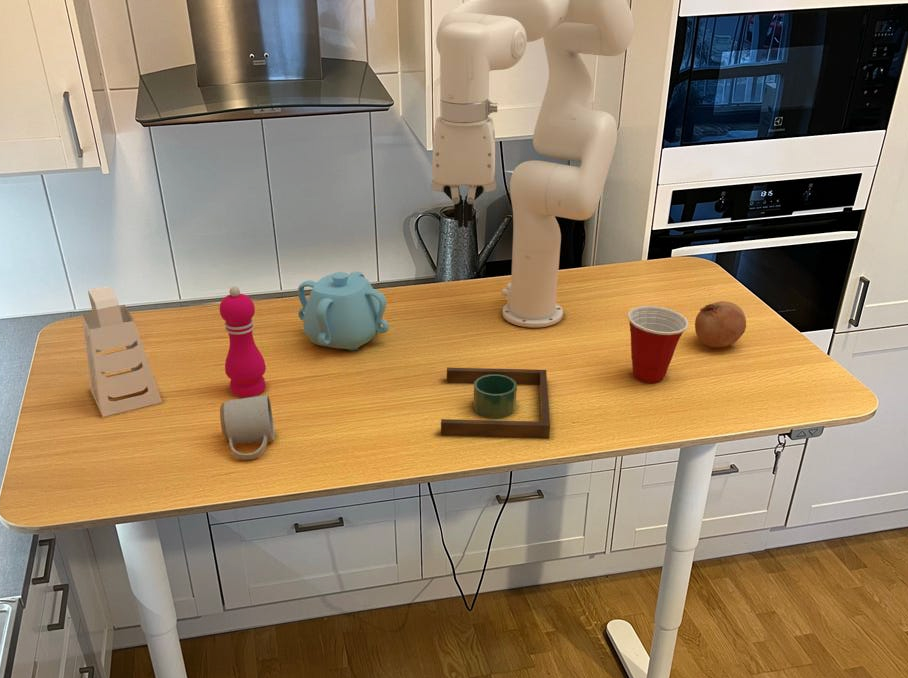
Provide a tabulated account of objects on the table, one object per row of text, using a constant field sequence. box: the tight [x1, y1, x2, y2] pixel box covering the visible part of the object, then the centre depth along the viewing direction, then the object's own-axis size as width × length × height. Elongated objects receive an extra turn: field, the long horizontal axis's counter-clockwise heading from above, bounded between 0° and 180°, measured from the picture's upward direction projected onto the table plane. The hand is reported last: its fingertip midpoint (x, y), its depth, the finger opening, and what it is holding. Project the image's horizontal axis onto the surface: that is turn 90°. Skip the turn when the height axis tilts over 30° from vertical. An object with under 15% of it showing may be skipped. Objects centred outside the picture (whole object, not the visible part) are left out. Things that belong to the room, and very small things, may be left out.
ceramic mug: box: [219, 394, 275, 461], centre depth 152 cm, size 11×8×8 cm
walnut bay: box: [440, 367, 551, 439], centre depth 163 cm, size 18×19×2 cm
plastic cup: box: [627, 305, 689, 384], centre depth 168 cm, size 11×11×12 cm
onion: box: [694, 301, 747, 349], centre depth 180 cm, size 10×9×10 cm
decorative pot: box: [297, 271, 390, 351], centre depth 182 cm, size 16×16×14 cm
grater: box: [81, 285, 163, 418], centre depth 162 cm, size 10×10×20 cm
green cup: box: [473, 374, 518, 419], centre depth 162 cm, size 7×7×5 cm
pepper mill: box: [219, 286, 267, 398], centre depth 164 cm, size 7×7×20 cm
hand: (463, 224), depth 156 cm, fingers closed
